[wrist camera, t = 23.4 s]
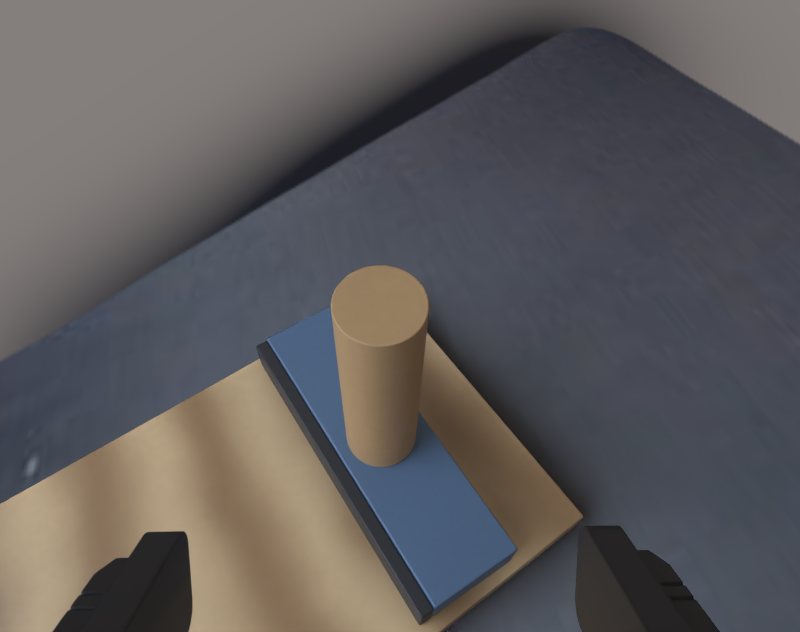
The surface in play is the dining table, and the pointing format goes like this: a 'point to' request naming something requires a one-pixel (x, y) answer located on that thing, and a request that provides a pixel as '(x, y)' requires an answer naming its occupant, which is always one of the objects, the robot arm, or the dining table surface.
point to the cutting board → (260, 513)
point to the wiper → (386, 437)
